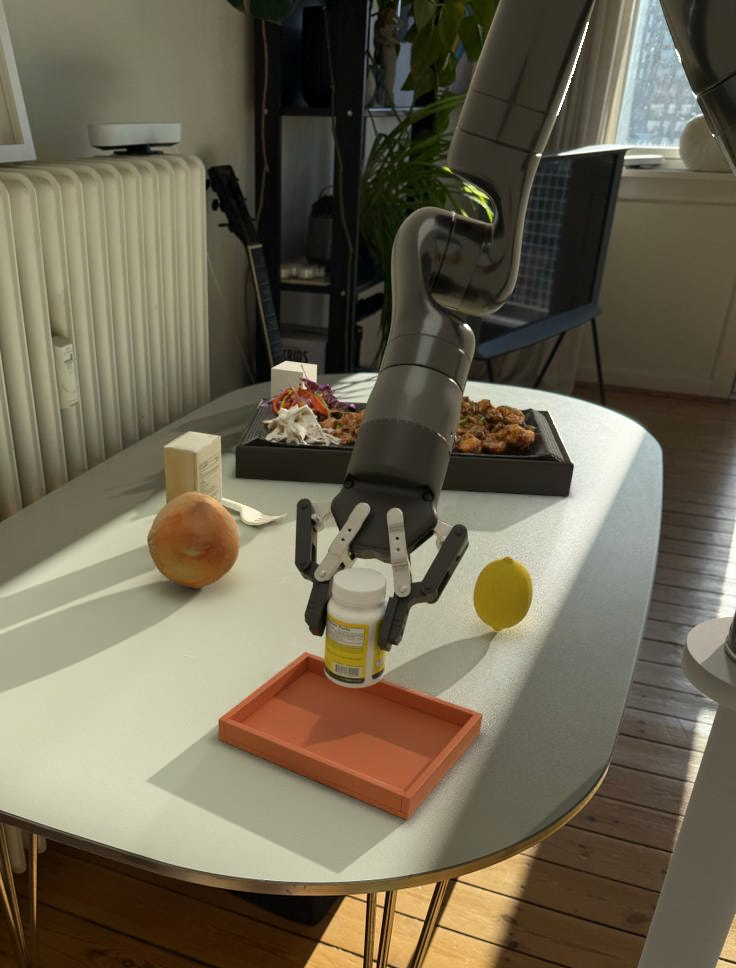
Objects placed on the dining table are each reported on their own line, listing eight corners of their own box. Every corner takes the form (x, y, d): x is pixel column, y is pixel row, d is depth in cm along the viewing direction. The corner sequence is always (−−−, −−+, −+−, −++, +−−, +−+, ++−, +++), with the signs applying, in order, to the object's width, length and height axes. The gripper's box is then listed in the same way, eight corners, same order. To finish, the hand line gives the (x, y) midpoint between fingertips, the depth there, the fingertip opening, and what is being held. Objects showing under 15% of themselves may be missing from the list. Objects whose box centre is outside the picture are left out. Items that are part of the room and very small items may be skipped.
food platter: (235, 477, 129) (235, 404, 124) (259, 425, 150) (260, 360, 145) (568, 496, 124) (582, 420, 119) (545, 439, 145) (556, 372, 140)
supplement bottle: (367, 653, 76) (374, 561, 72) (394, 683, 73) (404, 587, 68) (313, 664, 75) (318, 570, 71) (338, 694, 71) (344, 597, 67)
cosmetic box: (192, 526, 114) (189, 429, 108) (224, 533, 113) (223, 434, 106) (166, 546, 109) (161, 445, 103) (198, 553, 108) (195, 450, 101)
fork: (184, 485, 127) (183, 471, 126) (290, 527, 114) (290, 512, 113) (165, 490, 125) (165, 477, 124) (271, 534, 112) (271, 520, 111)
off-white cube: (315, 399, 164) (317, 364, 161) (302, 407, 159) (303, 372, 156) (284, 394, 166) (285, 360, 163) (270, 403, 162) (271, 368, 159)
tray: (479, 733, 77) (483, 713, 76) (407, 820, 68) (409, 799, 67) (304, 670, 86) (305, 651, 85) (218, 739, 76) (218, 719, 75)
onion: (134, 575, 102) (129, 489, 97) (214, 556, 107) (212, 473, 102) (173, 611, 95) (169, 520, 90) (257, 589, 100) (257, 501, 95)
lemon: (477, 612, 95) (487, 541, 91) (531, 625, 93) (544, 552, 89) (461, 636, 91) (471, 562, 87) (518, 649, 89) (531, 574, 85)
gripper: (310, 404, 73) (248, 607, 69) (494, 427, 68) (438, 646, 64) (328, 449, 79) (273, 635, 76) (497, 473, 75) (446, 673, 71)
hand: (349, 639), depth 70 cm, fingers closed on supplement bottle, 4 cm apart
